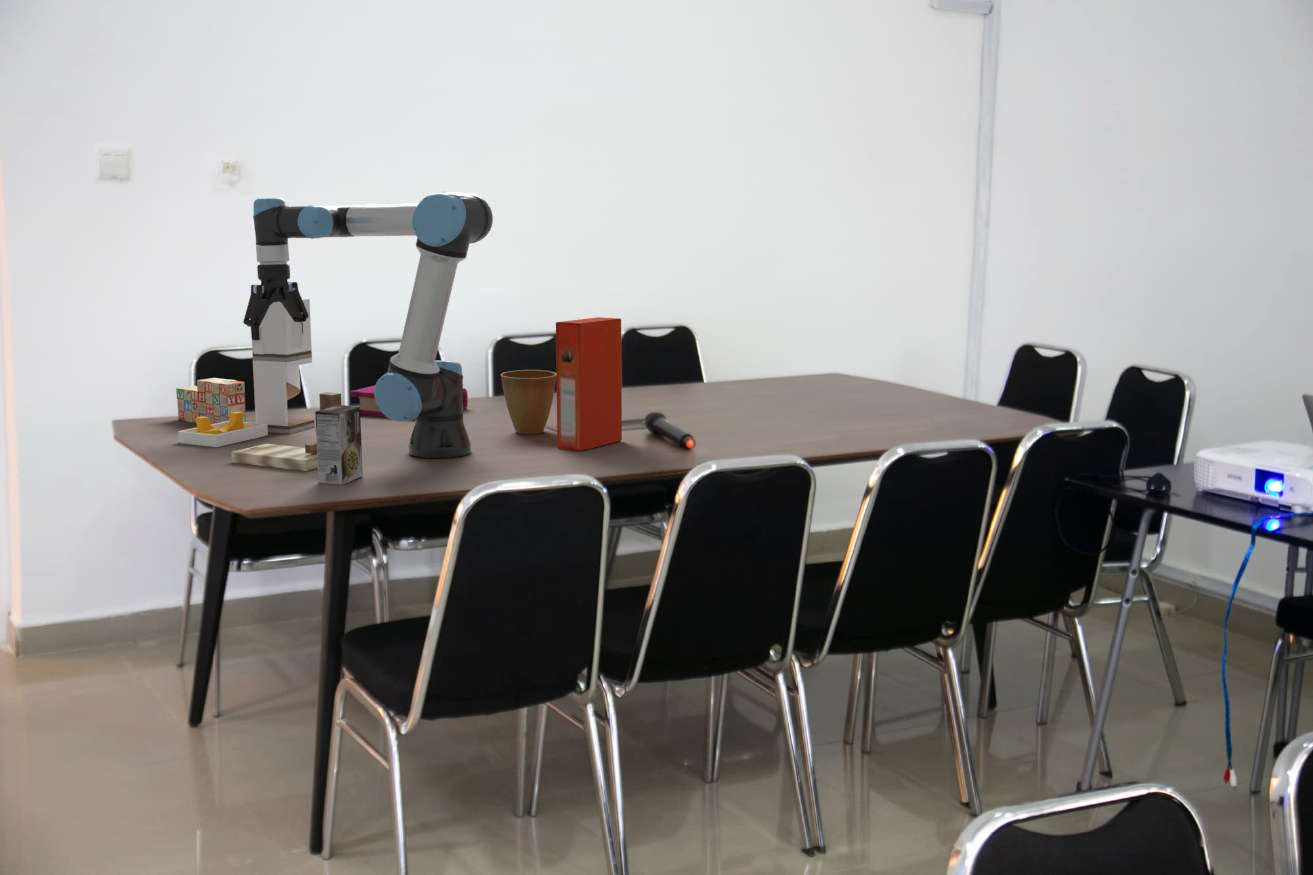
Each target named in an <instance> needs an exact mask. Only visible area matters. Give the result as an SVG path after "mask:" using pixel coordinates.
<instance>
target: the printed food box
mask: <svg viewBox="0 0 1313 875" xmlns="http://www.w3.org/2000/svg"><path fill="white" fill-rule="evenodd" d="M314 413H315V414H314V415H315V432H316V433H315V435H316V437H315V439H316V442H317V464H318V468H317V480H318V481H317V482H318V484H319V483H320V484H329V485H341V486H342V485H343V486H344V485H345V484H347V483H350V482H351V481H352V482H353V481H354V480H357V479H359V478H361V477H363V476H364V473H363V472H364V471H363V468H364V466H363V446H362V426H361V425H362V423H361V422H362V421H361V415H360V406H352V405H343V404H341V405H335V406H332V407H328V408H325V409H322V410H320V409H319V410H315V412H314Z"/></svg>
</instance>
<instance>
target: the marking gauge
mask: <svg viewBox="0 0 1313 875" xmlns="http://www.w3.org/2000/svg"><path fill="white" fill-rule="evenodd" d="M318 396H319V410H322V409H325V408H328V407H332V406H335V405H342V393H339V392H329V391H327V392H322V393H319V395H318ZM304 448H305V453H309V454H314V453H317V441H314V442H310V443H305V444H304Z"/></svg>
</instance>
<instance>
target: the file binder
mask: <svg viewBox="0 0 1313 875" xmlns="http://www.w3.org/2000/svg"><path fill="white" fill-rule="evenodd" d="M555 351H556V352H555V359H556V361H555V362H556V364H555V366H556V367H555V368H556V369H555V370H556V372H555V373H556V433H557V436H556V439H557V440H556V442H557V444H556V445H557V448H558V449H561V450H568V451H574V452H575V451H577V452H582V451H586V450H590V449H594V448H598V447H602V446H607V445H610V444H614V443H618V442H621V441H622V439H623V437H622V436H623V435H622V434H623V433H622V432H623V431H622V430H623V427H622V426H623V423H622V420H623V418H622V417H623V414H622V413H623V412H622V408H623V407H622V402H623V400H622V399H623V398H622V397H623V396H622V389H623V388H622V380H623V379H622V319H621V318H617V317H616V318H615V317H600V316H599V317H598V316H597V317H596V316H595V317H589V318H582V319H579V318H578V319H572V320H564V321H557V322H555Z"/></svg>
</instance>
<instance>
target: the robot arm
mask: <svg viewBox="0 0 1313 875" xmlns="http://www.w3.org/2000/svg"><path fill="white" fill-rule="evenodd" d="M252 216H253V217H252V218H253V219H252V220H253V225H254V234H255V245H256V246H255V251H256V253H255V254H256V262H258V263H259V264H258V265H257V266H256V271H257V279H258V280H259V281H260V284H251V285H250V296H249V300H248V304H247V307H246V310H245V314H244V319H243V321H242V322H243V324H244V325H246V326H247V327H248V328H249V327H250V334H251V336H250V337H251V341H252V340H253V347H254V354H265V349H264V334H263V327H259V326H260V325H261V323H262V321H263V319H264V317H265V315H266V312H267V310H268V308H269V306H270V305H271V304H272V303H273V302H281V303H282V304H283V306H284V307H285V309H286V310H287V312H288V313H289V315H290V316H291V318H292V319H293V320H294V321H295V322H291V331H292V347H293V348H303V338H302V334H303V322H305V321H306V318H308V317H309V315H308V313H307V310H306V308H305V305H304V303H303V300H302V299H303V298H302V296H301V294H300V292H299V286H298V285H299V284H298V282H296V281H288V280H290V279H291V268H290V264H289V263H288V262H290V251H289V239H312V240H314V239H321V238H323V239H324V238H351V237H352V238H354V237H404V236H406V237H410V236H413V237H414V236H415V237H417V238H416V242H415V247H416V249H417V251H418V252H419V254H420V256H419V261H418V265H417V269H416V274H415V278H414V282H413V283H414V284H413V287H412V292H411V297H410V300H409V301H410V302H409V305H408V310H407V314H406V319H405V323H404V327H403V332H402V337H401V341H400V345H399V349H398V353H396V354H394V355H393V356H390V359H389V364H388V367H387V372H386V373H384V374H383V375H381V376H380V378H379V379H377V381H376V382H375V385H374V386H375V390H374V395H375V401H376V403H377V405H378V406H379V408H380V410H381V412H382V413H383V414H384V415H385V416H384V417H386V416H387V417H386V418H388V419H390V420H392V421H395V422H409V421H414V420H415V421H414V422H415V423H414V426H413V429H412V433H411V437H410V439H409V443H408V455H410V456H413V457H418V458H424V459H425V458H426V459H428V458H429V459H449V458H456V457H461V456H467V455H470V453H471V452H472V449H471V448H472V444H471V440H470V438H469V434H468V432H467V428H466V425H465V423H464V411H463V388H464V385H463V380H464V375H463V368H462V367H463V366H462V364H461V363H460V362H458V361H453V360H450V361H449V360H436V357H437V355H438V354H437V353H438V350H439V345H440V342H441V336H442V332H443V329H444V324H445V320H446V316H447V315H446V314H447V312H448V308H449V303H450V299H451V294H452V289H453V286H454V281H455V277H456V273H457V269H458V264H459V263H461V262H462V261H464V260H466V259H467V256H468V252H469V248H470V244H476V243H477V242H478V243H479V242H480V241H482V240H483V239H485V237H487V236H488V234H489V233H490V231H491V229H492V227H493V221H494V219H493V217H494V216H493V211H492V209H491V207H490V205H489V204H488V202H487V201H486V200H485V199H484V198H482V197H481V196H480V195H477V194H474V193H470V192H447V191H441V192H436V193H431V194H429V195H427V196H425V197H423V198H422V199H421V200H420V201H419V202H417V203H403V204H402V203H401V204H400V203H397V204H395V203H394V204H392V203H391V204H366V205H327V206H325V205H301V206H300V205H299V206H296V205H295V206H289V205H288V206H287V203H286V200H285V199H284V198H274V197H273V198H270V197H269V198H256V199H255V200H253V214H252Z"/></svg>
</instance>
